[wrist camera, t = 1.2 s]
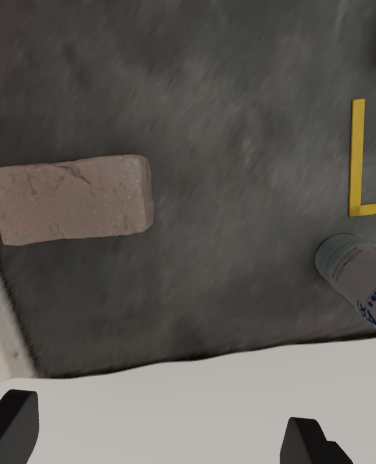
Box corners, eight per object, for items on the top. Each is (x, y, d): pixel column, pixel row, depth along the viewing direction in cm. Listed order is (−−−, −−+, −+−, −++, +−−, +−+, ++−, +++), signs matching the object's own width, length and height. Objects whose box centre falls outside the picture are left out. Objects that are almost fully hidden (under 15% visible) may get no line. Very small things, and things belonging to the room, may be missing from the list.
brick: (147, 152, 32) (139, 152, 28) (157, 224, 34) (151, 234, 30) (6, 167, 33) (-24, 169, 28) (24, 236, 35) (-1, 248, 31)
